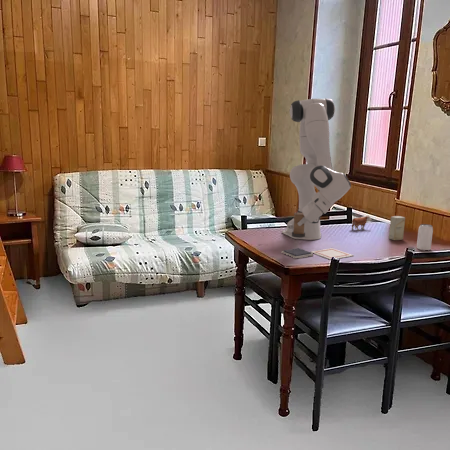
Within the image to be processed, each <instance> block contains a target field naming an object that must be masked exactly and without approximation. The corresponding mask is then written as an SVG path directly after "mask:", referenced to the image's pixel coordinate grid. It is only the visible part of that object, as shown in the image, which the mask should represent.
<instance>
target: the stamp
mask: <svg viewBox="0 0 450 450" xmlns="http://www.w3.org/2000/svg"><path fill="white" fill-rule="evenodd" d="M303 217H304V214H303V213H295V212H293V218H294V229H293V232H292V236H293V237H298V238H302V237H305V233H304V224H302V225H301V226H299V225H298V224H297V222H299V221H300V220H301V219H303Z"/></svg>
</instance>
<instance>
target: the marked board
mask: <svg viewBox="0 0 450 450" xmlns="http://www.w3.org/2000/svg"><path fill="white" fill-rule="evenodd" d="M310 252H311V253H312V254H313V253H314V254H313V255H317V256H319V257H321V258H324V259H327V260H330V261H332V260H331V258H332V257H335V258H339V259H338V260H340V259H344V258H345V259H346V258H350V257H354V254H352V253H348V252H345V251H343V250H339V249H336V248H333V247H331V248H325V249H324V248H323V249H319V250H313V251H310Z"/></svg>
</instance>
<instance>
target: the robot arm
mask: <svg viewBox="0 0 450 450" xmlns="http://www.w3.org/2000/svg"><path fill="white" fill-rule="evenodd" d="M335 112H336V107H335V103H334V101H333V99H331V98H326V97H325V98H309V99H302V100H299V99H298V100H295V101H293V102H292V103H291V105H290V108H289V117H290V119H291V120H292V121H293V122H295V123H299V132H298V133H299V135H298V136H299V153H300V155H302V156H303V157H304V158H305V160H306V163H303V164H298V165H295V166H293V167H292V168H291V169H290V171H289V178H290V181H291V183H292V184H293V185H294V186H295V187H296V190H297V193H298V210H296V211H294V213H303V214H304V217H303V219H301V220H300V221H299V222H297V224H298V225H299V226H301V225H302V224H304V233H305V237H302V238H298V237H293V236H292V232H293V229H294V217H293V218H292V219H291V220H289V221H288V222H287V225H286V229H283V230H282V231H281V233H282V234H284V235H286V236H287V237H290V238H291V239H295V240H307V241H308V240H309V241H310V240H311V241H312V240H315V241H316V240H319V239H320V240H321V238H322V233H321V220H320V219H321V217H322V215H324V214H326V213H328V211H329V209H330V208H331V207H333V206H334V205H335V203H336V202H337V201H339V200H340V199H342V198H343V196H344V195H346V194H347V193H348V192H349V190H350V189H351V188H352V184H351V182H350V180H349V179H348V177H347V175H346V174H345V173H343V172H338V171H334V170H333V165H332V158H331V148H330V147H331V146H330V123H329V121H330V120H331V119H332V118H333V117H334V116H335ZM316 189H317V192H316Z"/></svg>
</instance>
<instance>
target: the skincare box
mask: <svg viewBox="0 0 450 450" xmlns="http://www.w3.org/2000/svg"><path fill="white" fill-rule="evenodd" d="M405 223H406V217H405V216H401V215H394V216H390V222H389V231H388V232H389V233H388V239H389V240H392V241H402V240H404V232H405Z"/></svg>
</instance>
